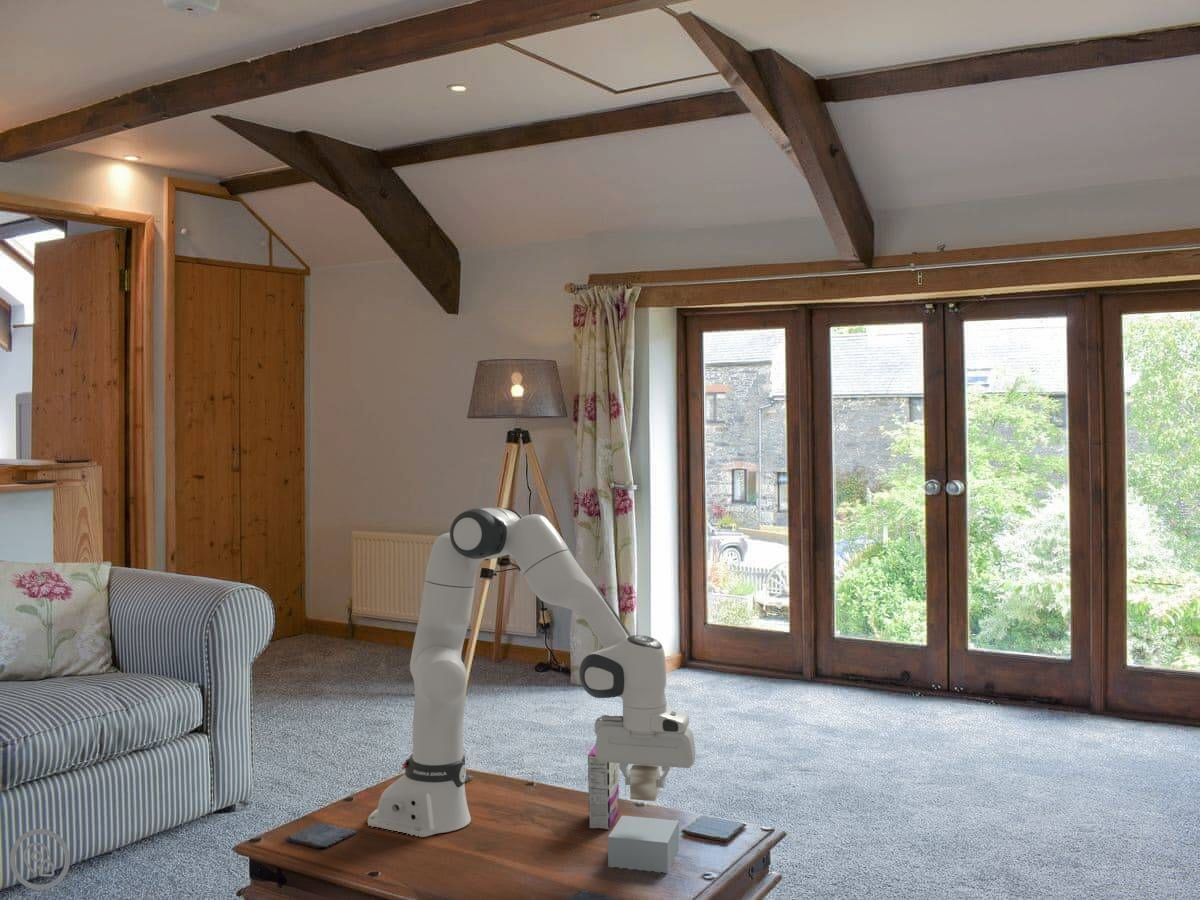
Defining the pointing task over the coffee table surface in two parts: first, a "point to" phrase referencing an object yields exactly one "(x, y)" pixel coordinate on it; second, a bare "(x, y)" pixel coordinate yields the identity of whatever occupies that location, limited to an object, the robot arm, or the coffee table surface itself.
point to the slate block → (643, 843)
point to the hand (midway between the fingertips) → (645, 785)
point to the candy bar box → (602, 792)
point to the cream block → (644, 782)
